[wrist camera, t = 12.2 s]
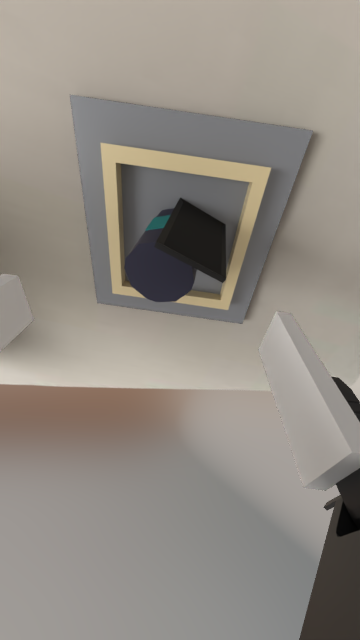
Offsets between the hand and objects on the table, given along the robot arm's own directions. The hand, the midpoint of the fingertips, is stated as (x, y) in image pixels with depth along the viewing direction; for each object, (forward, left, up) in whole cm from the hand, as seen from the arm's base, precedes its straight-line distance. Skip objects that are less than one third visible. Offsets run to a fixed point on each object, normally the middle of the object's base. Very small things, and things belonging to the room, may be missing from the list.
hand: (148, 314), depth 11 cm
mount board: (0, 0, -16) cm, 16 cm away
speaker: (+1, 0, -15) cm, 15 cm away
